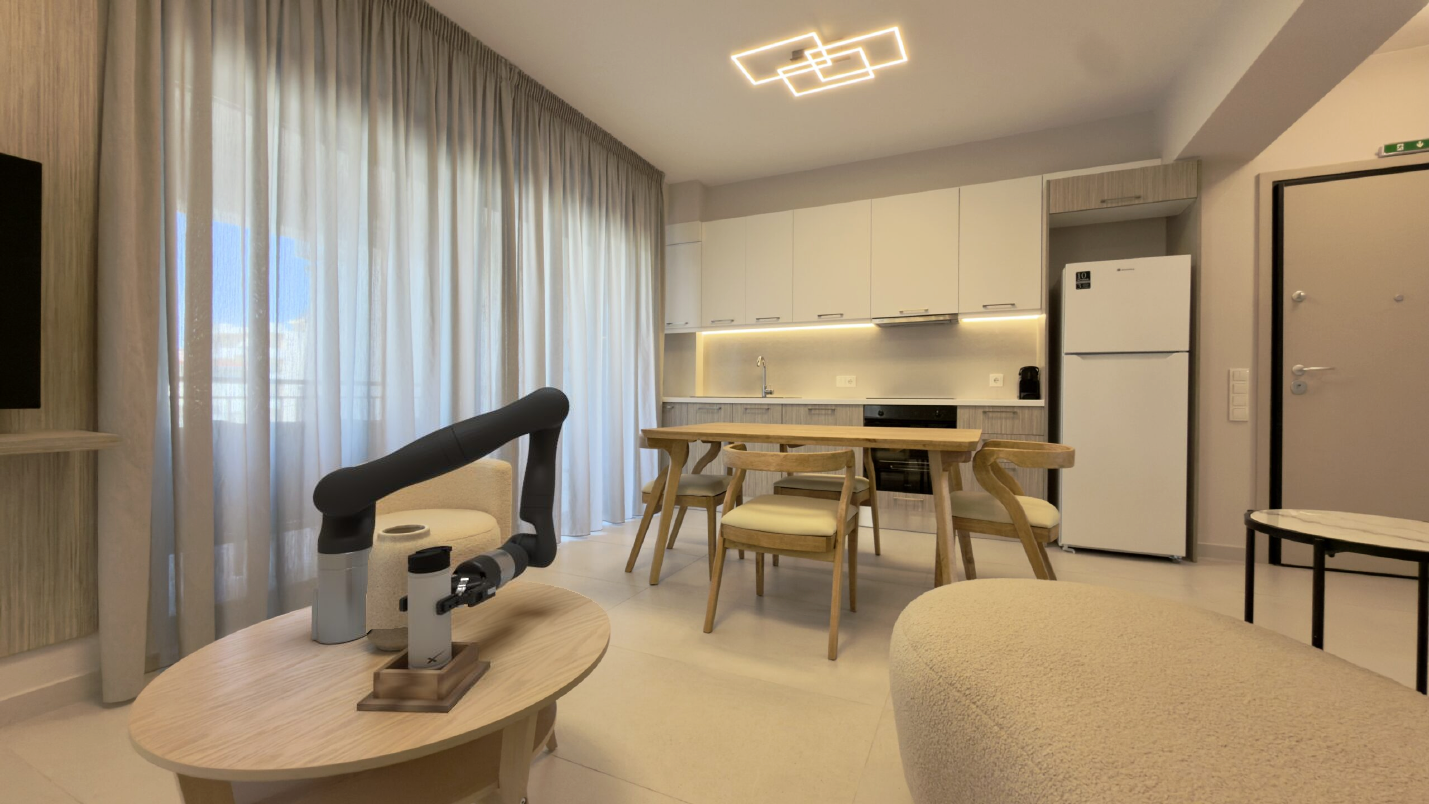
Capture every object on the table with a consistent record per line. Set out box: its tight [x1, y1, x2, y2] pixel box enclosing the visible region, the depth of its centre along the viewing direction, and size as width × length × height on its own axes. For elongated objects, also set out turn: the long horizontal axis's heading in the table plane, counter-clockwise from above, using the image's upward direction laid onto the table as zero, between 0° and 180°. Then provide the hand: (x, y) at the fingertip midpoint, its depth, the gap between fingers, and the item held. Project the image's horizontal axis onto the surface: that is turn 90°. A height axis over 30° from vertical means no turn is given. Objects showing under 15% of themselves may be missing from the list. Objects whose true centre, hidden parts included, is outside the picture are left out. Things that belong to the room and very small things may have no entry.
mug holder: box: [356, 641, 491, 713], centre depth 88 cm, size 14×14×5 cm
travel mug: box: [406, 545, 453, 670], centre depth 88 cm, size 6×7×20 cm
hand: (419, 607), depth 86 cm, fingers closed on travel mug, 6 cm apart
